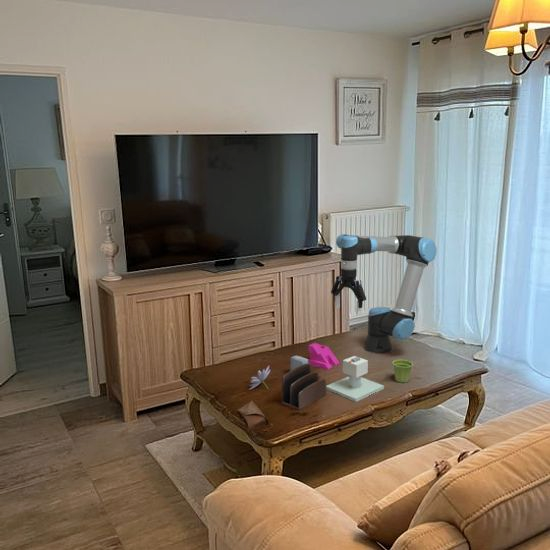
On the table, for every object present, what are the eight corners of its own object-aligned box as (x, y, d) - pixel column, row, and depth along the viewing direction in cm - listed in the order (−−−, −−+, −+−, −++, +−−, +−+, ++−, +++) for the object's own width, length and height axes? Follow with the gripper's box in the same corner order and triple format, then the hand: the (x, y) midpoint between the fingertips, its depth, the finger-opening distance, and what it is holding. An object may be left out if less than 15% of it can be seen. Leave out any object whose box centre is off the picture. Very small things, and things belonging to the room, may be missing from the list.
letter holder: (281, 403, 246) (281, 373, 243) (308, 389, 260) (309, 360, 257) (299, 410, 239) (299, 379, 236) (326, 395, 254) (327, 365, 251)
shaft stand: (353, 377, 273) (354, 347, 269) (383, 388, 260) (385, 358, 256) (325, 389, 260) (325, 358, 256) (355, 402, 247) (356, 369, 243)
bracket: (308, 364, 289) (308, 345, 287) (319, 358, 297) (320, 340, 295) (327, 370, 282) (328, 350, 280) (339, 364, 290) (339, 345, 287)
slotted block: (354, 367, 263) (354, 354, 262) (367, 372, 258) (368, 359, 256) (342, 372, 258) (342, 359, 257) (356, 377, 252) (356, 364, 251)
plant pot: (398, 374, 276) (399, 358, 274) (415, 380, 269) (416, 363, 267) (387, 380, 269) (388, 363, 267) (404, 386, 263) (405, 368, 261)
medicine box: (308, 375, 275) (308, 359, 273) (302, 378, 272) (302, 361, 270) (296, 371, 280) (296, 355, 278) (290, 374, 277) (290, 357, 275)
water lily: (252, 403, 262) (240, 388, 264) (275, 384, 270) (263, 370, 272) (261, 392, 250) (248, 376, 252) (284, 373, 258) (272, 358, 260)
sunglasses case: (234, 409, 240) (241, 395, 240) (248, 414, 243) (255, 401, 243) (249, 429, 224) (257, 414, 224) (263, 434, 227) (271, 419, 227)
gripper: (324, 265, 276) (323, 307, 281) (364, 273, 258) (363, 318, 263) (334, 263, 281) (333, 304, 286) (374, 271, 263) (373, 315, 268)
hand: (347, 311), depth 274 cm, fingers open, 13 cm apart
